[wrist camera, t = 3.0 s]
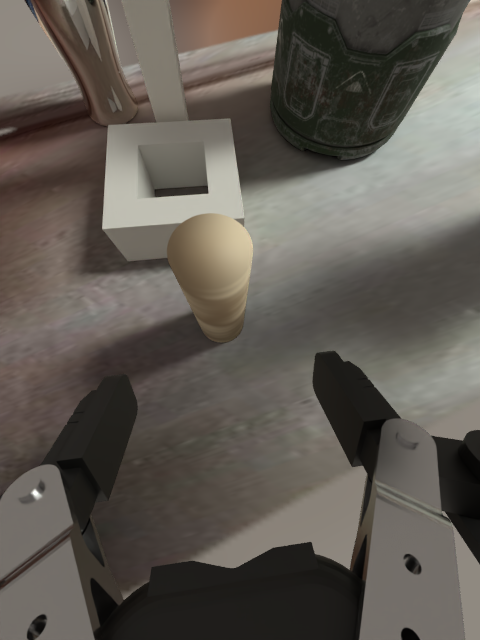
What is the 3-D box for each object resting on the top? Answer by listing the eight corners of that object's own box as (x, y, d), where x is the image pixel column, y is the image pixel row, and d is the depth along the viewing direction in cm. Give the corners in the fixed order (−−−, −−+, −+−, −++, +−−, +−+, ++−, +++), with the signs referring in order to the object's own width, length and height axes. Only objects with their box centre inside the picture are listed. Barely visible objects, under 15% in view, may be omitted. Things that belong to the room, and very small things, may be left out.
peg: (236, 297, 24) (239, 205, 12) (248, 335, 23) (264, 275, 11) (196, 307, 23) (159, 223, 12) (206, 347, 22) (177, 298, 11)
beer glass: (77, 125, 30) (-71, -128, 15) (95, 87, 32) (-21, -170, 17) (133, 133, 29) (38, -116, 15) (148, 93, 31) (76, -159, 17)
